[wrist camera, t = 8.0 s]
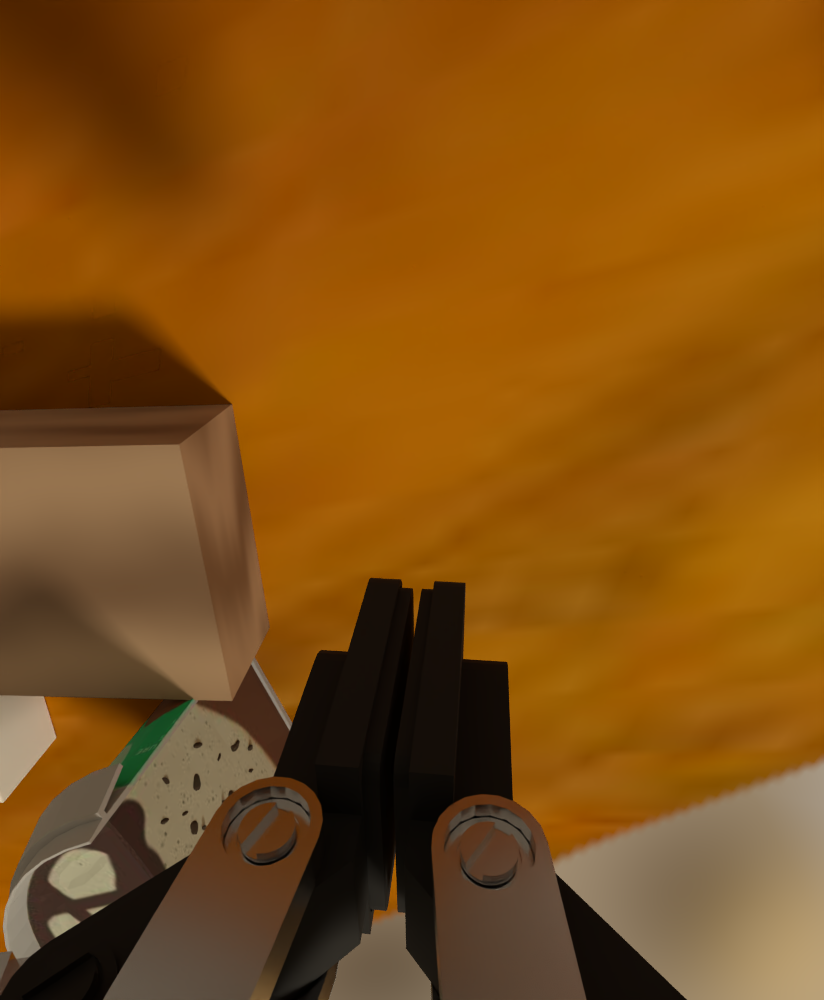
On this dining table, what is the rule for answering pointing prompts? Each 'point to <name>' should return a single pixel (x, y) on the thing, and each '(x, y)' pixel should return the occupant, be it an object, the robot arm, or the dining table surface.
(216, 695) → the block
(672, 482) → the dining table surface
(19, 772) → the board
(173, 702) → the food container
